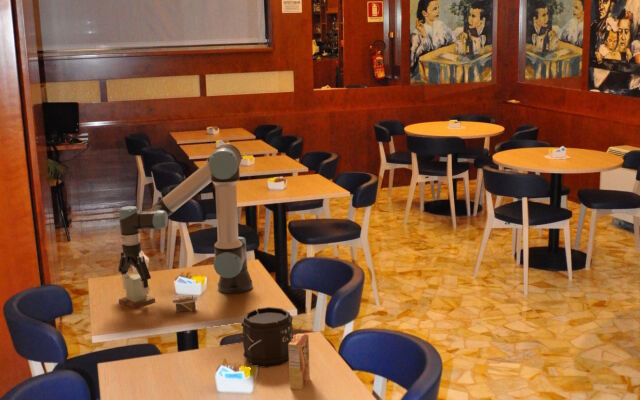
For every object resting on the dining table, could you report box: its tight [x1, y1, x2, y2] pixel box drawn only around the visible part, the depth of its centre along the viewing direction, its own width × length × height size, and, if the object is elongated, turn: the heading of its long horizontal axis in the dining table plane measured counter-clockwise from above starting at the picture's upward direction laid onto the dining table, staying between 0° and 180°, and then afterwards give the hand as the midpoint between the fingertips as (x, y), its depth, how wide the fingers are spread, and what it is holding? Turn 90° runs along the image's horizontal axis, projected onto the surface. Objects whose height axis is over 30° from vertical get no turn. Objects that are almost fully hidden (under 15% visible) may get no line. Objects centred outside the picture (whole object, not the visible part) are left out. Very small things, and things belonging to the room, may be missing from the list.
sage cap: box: [125, 274, 148, 302], centre depth 336 cm, size 6×6×10 cm
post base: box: [118, 295, 156, 309], centre depth 336 cm, size 12×10×8 cm
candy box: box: [288, 333, 311, 390], centre depth 254 cm, size 9×4×15 cm, turn 163°
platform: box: [172, 294, 198, 313], centre depth 323 cm, size 12×18×7 cm, turn 108°
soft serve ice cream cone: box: [131, 250, 150, 275], centre depth 358 cm, size 8×8×16 cm
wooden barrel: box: [240, 306, 294, 368], centre depth 274 cm, size 18×18×16 cm
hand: (136, 291), depth 336 cm, fingers open, 13 cm apart
